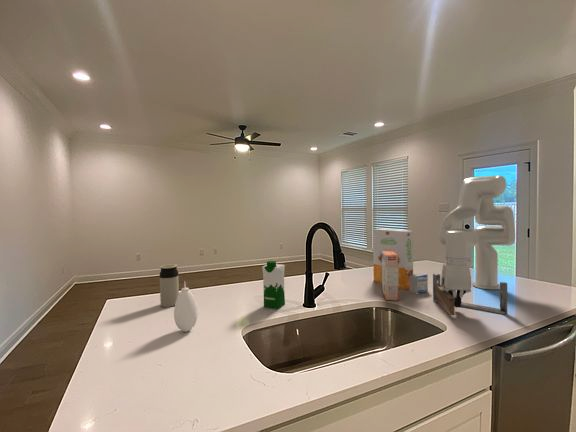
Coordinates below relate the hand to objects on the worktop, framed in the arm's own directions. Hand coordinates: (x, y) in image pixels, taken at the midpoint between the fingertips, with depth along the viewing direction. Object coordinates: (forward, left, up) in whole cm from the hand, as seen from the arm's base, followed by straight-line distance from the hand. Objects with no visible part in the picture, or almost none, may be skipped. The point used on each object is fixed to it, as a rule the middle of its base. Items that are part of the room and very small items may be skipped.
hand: (456, 306), depth 119 cm
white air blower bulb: (+80, -69, -2) cm, 106 cm away
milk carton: (+41, -63, -2) cm, 75 cm away
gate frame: (-9, +2, -2) cm, 10 cm away
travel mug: (+70, -102, -2) cm, 124 cm away
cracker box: (-3, -29, -2) cm, 29 cm away
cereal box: (-25, -37, -2) cm, 44 cm away
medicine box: (-19, -21, -2) cm, 28 cm away
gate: (+2, -4, 0) cm, 4 cm away
